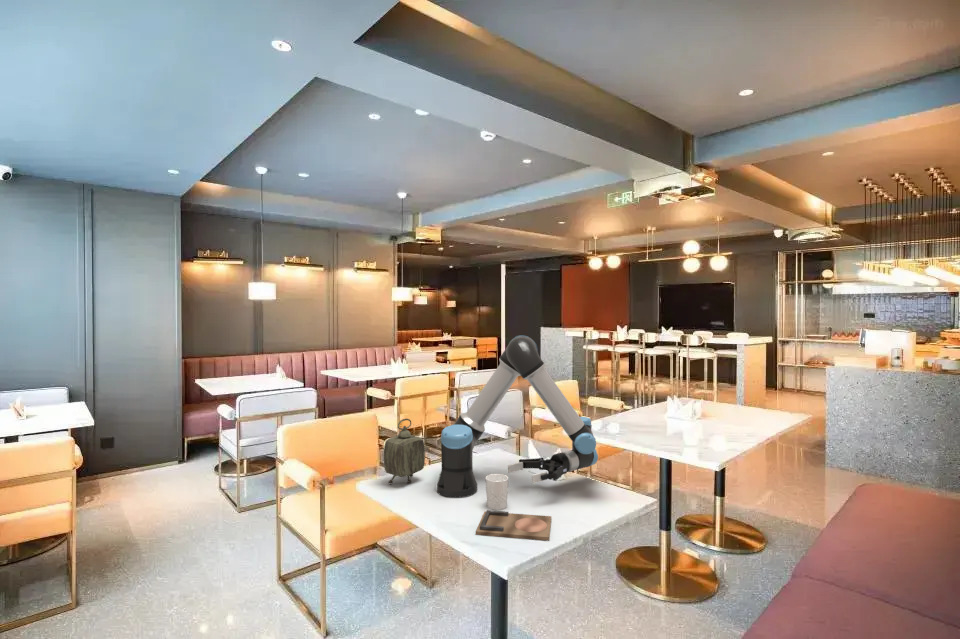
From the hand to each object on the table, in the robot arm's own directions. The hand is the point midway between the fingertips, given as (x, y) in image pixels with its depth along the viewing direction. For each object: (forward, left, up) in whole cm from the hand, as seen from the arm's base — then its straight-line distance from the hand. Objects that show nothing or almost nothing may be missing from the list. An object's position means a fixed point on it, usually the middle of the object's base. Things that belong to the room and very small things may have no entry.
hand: (520, 473), depth 178 cm
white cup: (-7, -7, -10) cm, 14 cm away
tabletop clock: (-46, +10, -10) cm, 48 cm away
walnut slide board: (+1, -22, -9) cm, 24 cm away
